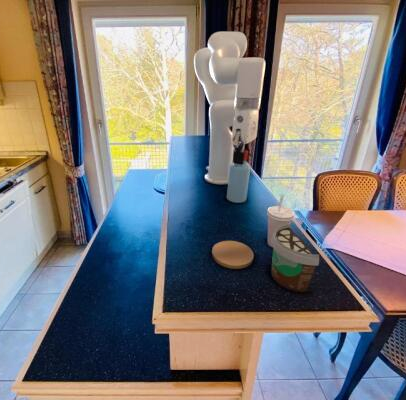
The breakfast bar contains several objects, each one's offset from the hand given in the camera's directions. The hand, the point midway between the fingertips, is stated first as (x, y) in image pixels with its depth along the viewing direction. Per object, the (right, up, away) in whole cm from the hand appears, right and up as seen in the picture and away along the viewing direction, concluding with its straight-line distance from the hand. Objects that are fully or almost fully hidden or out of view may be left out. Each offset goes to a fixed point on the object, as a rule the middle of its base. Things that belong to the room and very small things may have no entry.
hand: (241, 161), depth 88 cm
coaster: (-8, -27, -23) cm, 36 cm away
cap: (0, +1, 0) cm, 1 cm away
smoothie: (+4, -25, -19) cm, 31 cm away
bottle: (0, -12, +6) cm, 14 cm away
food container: (+1, -30, -30) cm, 42 cm away
